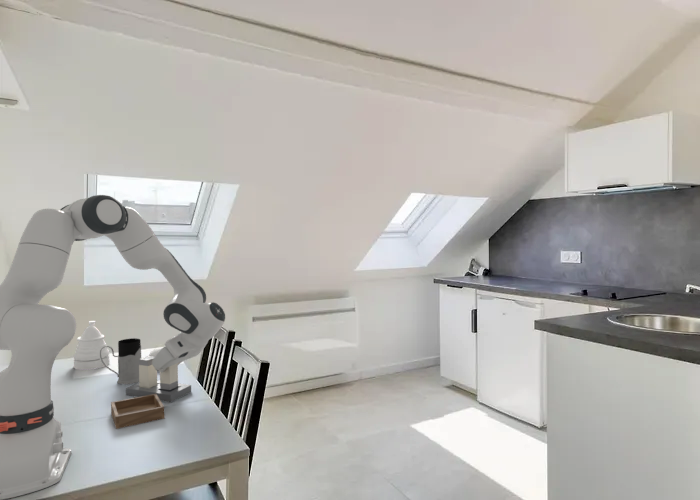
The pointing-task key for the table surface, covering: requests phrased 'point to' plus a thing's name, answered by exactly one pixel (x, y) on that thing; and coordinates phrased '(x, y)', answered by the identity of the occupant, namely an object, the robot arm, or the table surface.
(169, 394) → the fuse block
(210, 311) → the robot arm
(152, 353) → the ball
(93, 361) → the honey pot
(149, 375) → the block
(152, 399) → the tray
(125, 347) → the grey mug
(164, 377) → the block
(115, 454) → the table surface
